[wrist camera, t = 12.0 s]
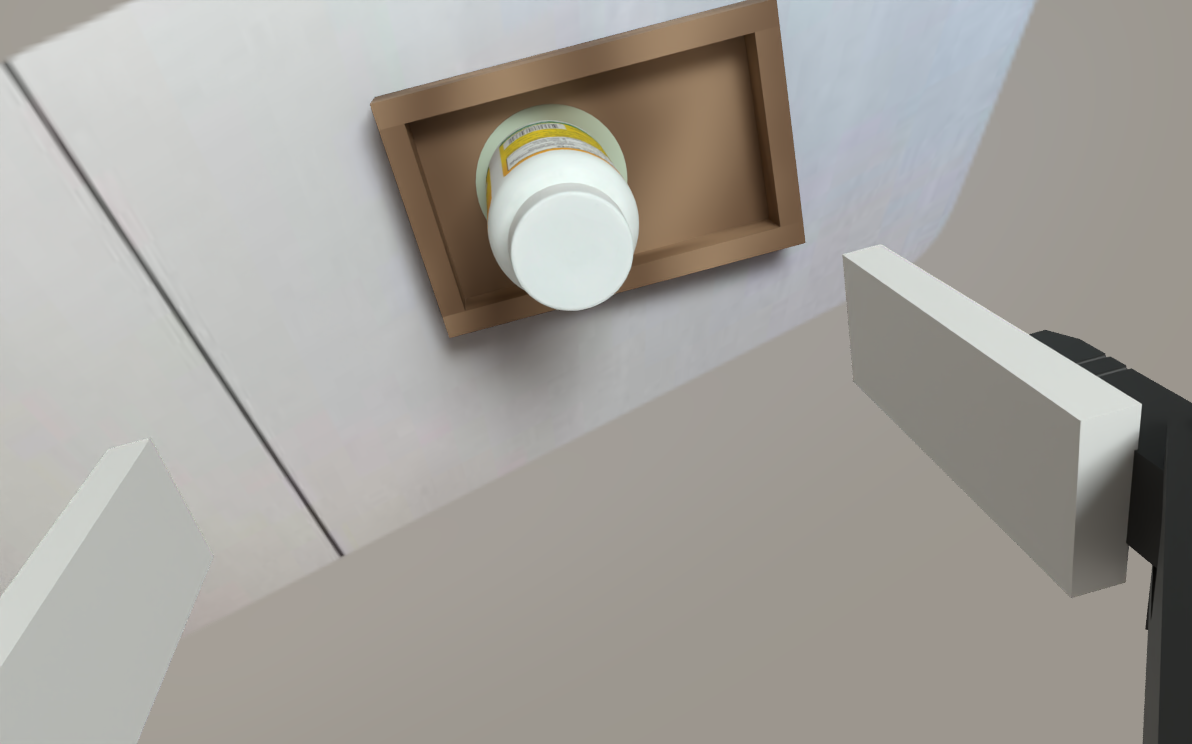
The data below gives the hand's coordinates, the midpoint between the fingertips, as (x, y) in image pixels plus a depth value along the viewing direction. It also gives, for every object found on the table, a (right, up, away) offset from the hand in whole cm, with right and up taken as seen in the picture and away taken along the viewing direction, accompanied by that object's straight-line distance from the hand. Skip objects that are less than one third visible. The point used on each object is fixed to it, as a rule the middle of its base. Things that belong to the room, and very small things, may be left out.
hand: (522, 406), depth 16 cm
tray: (+1, +9, +20) cm, 22 cm away
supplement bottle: (-1, +9, +20) cm, 21 cm away
